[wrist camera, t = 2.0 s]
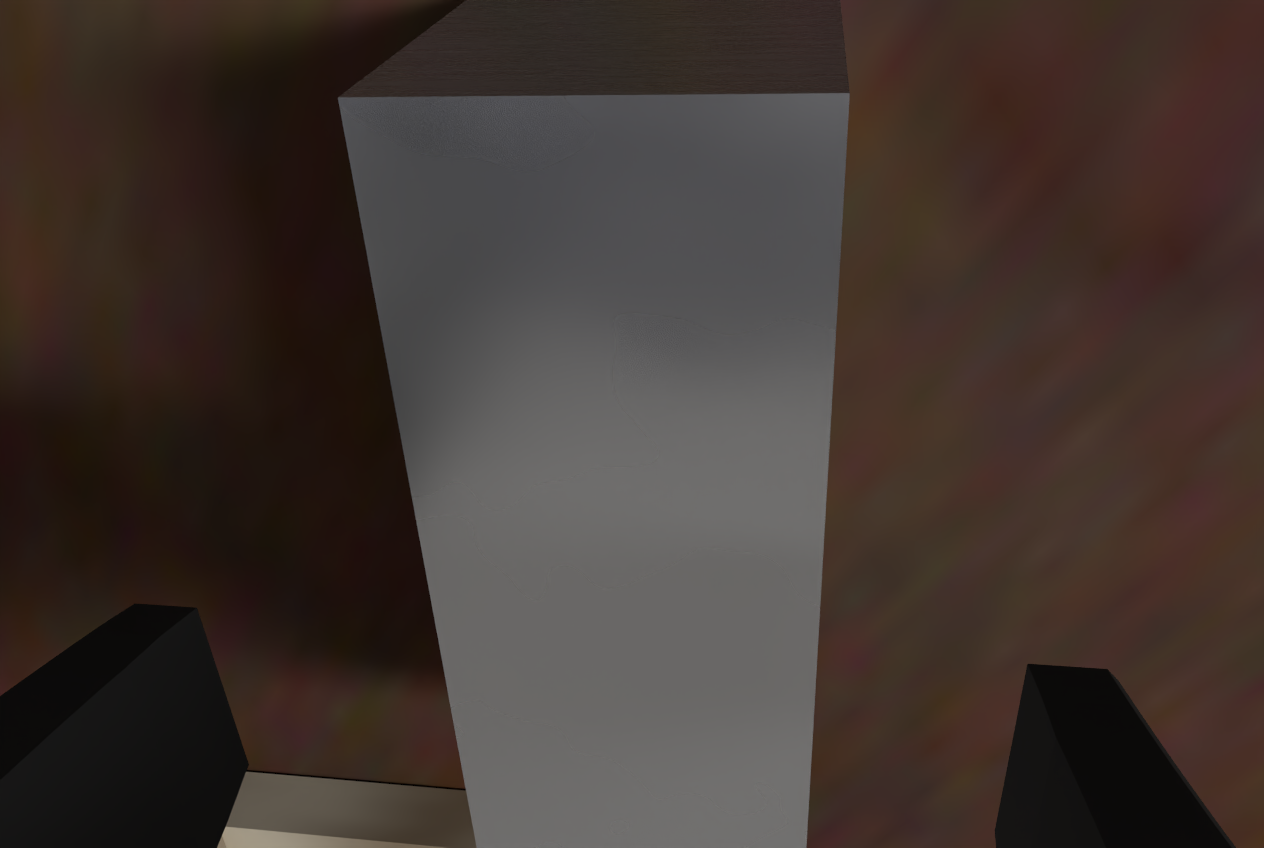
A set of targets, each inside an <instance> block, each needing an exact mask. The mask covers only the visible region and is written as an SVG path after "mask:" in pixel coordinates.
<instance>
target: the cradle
mask: <svg viewBox="0 0 1264 848" xmlns="http://www.w3.org/2000/svg"><path fill="white" fill-rule="evenodd" d="M217 848H477V847H476V841H475V836H474V830H473V825H472V820H471V814H470V809H469V803H468V798H467V793H466V791H464V790H453V789H441V788H429V787H418V786H406V785H395V784H383V783H372V782H360V781H349V780H337V779H325V778H314V777H302V776H291V775H279V774H268V773H256V772H246V773H245V776H244V779H243V781H242V784H241V787H240V790H239V792H238V795H237V798H236V800H235V803H234V806H233V809H232V811H231V814H230V817H229V819H228V822H227V825H226V827H225V830H224V832H223V835H222V837H221V839H220V842H219V844H218V847H217Z"/></svg>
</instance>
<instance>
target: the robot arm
mask: <svg viewBox="0 0 1264 848" xmlns="http://www.w3.org/2000/svg"><path fill="white" fill-rule="evenodd" d="M248 765H249V764H248V761H247V758H246V755H245V752H244V749H243V746H242V743H241V740H240V737H239V734H238V731H237V728H236V725H235V722H234V719H233V716H232V713H231V710H230V707H229V704H228V701H227V697H226V694H225V691H224V688H223V685H222V682H221V679H220V676H219V673H218V670H217V667H216V664H215V661H214V658H213V655H212V652H211V649H210V646H209V643H208V640H207V637H206V634H205V631H204V628H203V625H202V622H201V619H200V616H199V613H198V610H197V608H192V607H177V606H162V605H147V604H134V605H132V606H130V607H129V608H127V609H126V610H124V611H123V612H121V613H119V614H118V615H116V616H115V617H113V618H112V619H110V620H109V621H107V622H106V623H104V624H103V625H101V626H100V627H98V628H97V629H95V630H94V631H92V632H91V633H89V634H88V635H86V636H85V637H83V638H82V639H81V640H79V641H78V642H76V643H75V644H73V645H72V646H70V647H69V648H68V649H66V650H65V651H63V652H62V653H60V654H59V655H58V656H56V657H55V658H53V659H52V660H51V661H49V662H48V663H46V664H45V665H43V666H42V667H41V668H39V669H38V670H36V671H35V672H34V673H32V674H31V675H29V676H28V677H27V678H25V679H24V680H22V681H21V682H20V683H18V684H17V685H15V686H14V687H13V688H11V689H10V690H8V691H7V692H6V693H4V694H3V695H1V696H0V848H217V847H218V844H219V842H220V839H221V837H222V835H223V832H224V830H225V827H226V825H227V822H228V819H229V817H230V814H231V811H232V809H233V806H234V803H235V800H236V798H237V795H238V792H239V790H240V787H241V784H242V781H243V779H244V776H245V773H246V771H247V768H248ZM995 838H996V848H1236V847H1235V846H1234V844H1233V843H1232V842H1231V840H1230V839H1229V838H1228V836H1227V835H1226V834H1225V832H1224V831H1223V830H1222V828H1221V827H1220V826H1219V824H1218V823H1217V822H1216V820H1215V819H1214V817H1213V816H1212V815H1211V813H1210V812H1209V810H1208V809H1207V808H1206V806H1205V805H1204V804H1203V802H1202V801H1201V799H1200V798H1199V797H1198V795H1197V794H1196V792H1195V791H1194V790H1193V788H1192V787H1191V785H1190V784H1189V783H1188V781H1187V780H1186V778H1185V777H1184V776H1183V774H1182V773H1181V771H1180V770H1179V769H1178V767H1177V766H1176V764H1175V763H1174V761H1173V760H1172V759H1171V757H1170V756H1169V754H1168V753H1167V751H1166V750H1165V749H1164V747H1163V746H1162V744H1161V743H1160V741H1159V740H1158V738H1157V737H1156V736H1155V734H1154V733H1153V731H1152V730H1151V728H1150V727H1149V725H1148V724H1147V722H1146V721H1145V719H1144V718H1143V716H1142V715H1141V714H1140V712H1139V711H1138V709H1137V708H1136V706H1135V705H1134V703H1133V702H1132V700H1131V699H1130V697H1129V696H1128V694H1127V693H1126V691H1125V690H1124V688H1123V687H1122V685H1121V684H1120V682H1119V681H1118V680H1117V679H1116V678H1115V677H1114V676H1113V675H1112V674H1111V673H1110V671H1109V670H1108V669H1096V668H1081V667H1067V666H1052V665H1037V664H1028V665H1027V670H1026V675H1025V680H1024V685H1023V690H1022V695H1021V700H1020V706H1019V711H1018V716H1017V721H1016V726H1015V731H1014V736H1013V741H1012V746H1011V751H1010V756H1009V762H1008V767H1007V772H1006V777H1005V782H1004V787H1003V792H1002V797H1001V802H1000V807H999V812H998V817H997V823H996V828H995Z"/></svg>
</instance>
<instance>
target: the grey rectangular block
mask: <svg viewBox="0 0 1264 848" xmlns="http://www.w3.org/2000/svg"><path fill="white" fill-rule="evenodd" d="M849 94H850V92H849V82H848V73H847V63H846V53H845V43H844V33H843V23H842V13H841V3H840V0H466V1H464V2H463V3H462V4H460V5H459V6H458V7H457V8H455V9H454V10H453V11H451V12H450V13H449V14H447V15H446V16H445V17H443V18H442V19H441V20H439V21H438V22H437V23H435V24H434V25H433V26H431V27H430V28H429V29H427V30H426V31H425V32H424V33H422V34H421V35H420V36H418V37H417V38H416V39H414V40H413V41H412V42H410V43H409V44H408V45H406V46H405V47H404V48H402V49H401V50H400V51H398V52H397V53H396V54H394V55H393V56H392V57H391V58H389V59H388V60H387V61H385V62H384V63H383V64H381V65H380V66H379V67H377V68H376V69H375V70H373V71H372V72H371V73H369V74H368V75H367V76H365V77H364V78H363V79H361V80H360V81H359V82H358V83H356V84H355V85H354V86H352V87H351V88H350V89H348V90H347V91H346V92H344V93H343V94H342V95H340V96H339V97H338V101H339V107H340V112H341V117H342V123H343V128H344V134H345V139H346V144H347V150H348V155H349V161H350V166H351V171H352V177H353V182H354V188H355V193H356V198H357V204H358V209H359V215H360V220H361V225H362V231H363V236H364V242H365V247H366V252H367V258H368V263H369V269H370V274H371V279H372V285H373V290H374V296H375V301H376V306H377V312H378V317H379V323H380V328H381V333H382V339H383V344H384V350H385V355H386V360H387V366H388V371H389V377H390V382H391V387H392V393H393V398H394V404H395V409H396V414H397V420H398V425H399V431H400V436H401V441H402V447H403V452H404V458H405V463H406V468H407V474H408V479H409V485H410V490H411V495H412V501H413V506H414V512H415V517H416V522H417V528H418V533H419V539H420V544H421V549H422V555H423V560H424V566H425V571H426V577H427V582H428V587H429V593H430V598H431V604H432V609H433V614H434V620H435V625H436V631H437V636H438V641H439V647H440V652H441V658H442V663H443V668H444V674H445V679H446V685H447V690H448V695H449V701H450V706H451V712H452V717H453V722H454V728H455V733H456V739H457V744H458V749H459V755H460V760H461V766H462V771H463V776H464V782H465V787H466V793H467V798H468V803H469V809H470V814H471V820H472V825H473V830H474V836H475V841H476V847H477V848H806V843H807V825H808V808H809V791H810V773H811V756H812V738H813V721H814V704H815V686H816V669H817V651H818V634H819V617H820V599H821V582H822V564H823V547H824V530H825V512H826V495H827V477H828V460H829V443H830V425H831V408H832V390H833V373H834V356H835V338H836V321H837V303H838V286H839V268H840V251H841V234H842V216H843V199H844V181H845V164H846V147H847V129H848V112H849Z"/></svg>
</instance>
